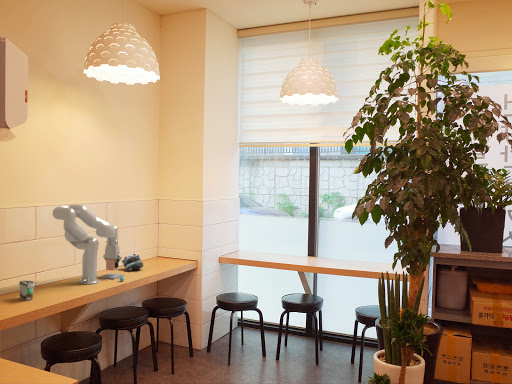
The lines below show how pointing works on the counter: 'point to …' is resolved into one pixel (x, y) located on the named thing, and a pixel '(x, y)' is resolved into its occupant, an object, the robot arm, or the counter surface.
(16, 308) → the counter surface
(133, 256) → the lucky cat figurine
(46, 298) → the counter surface
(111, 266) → the peach rectangular block
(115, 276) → the slate board
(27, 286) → the food container
